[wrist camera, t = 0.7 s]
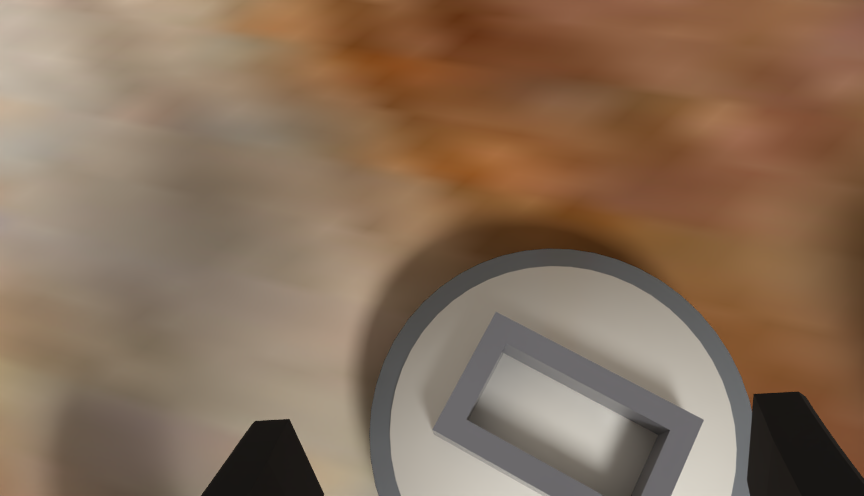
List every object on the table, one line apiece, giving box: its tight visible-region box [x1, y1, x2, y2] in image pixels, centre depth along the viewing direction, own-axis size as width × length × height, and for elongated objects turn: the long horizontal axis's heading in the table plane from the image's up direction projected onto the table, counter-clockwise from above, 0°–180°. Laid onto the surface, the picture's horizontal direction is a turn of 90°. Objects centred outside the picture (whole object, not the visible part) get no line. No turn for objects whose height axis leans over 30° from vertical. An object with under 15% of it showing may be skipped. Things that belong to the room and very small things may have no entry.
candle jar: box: [370, 249, 752, 496], centre depth 26 cm, size 13×13×4 cm
